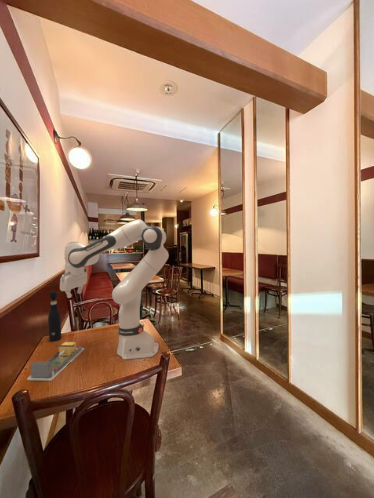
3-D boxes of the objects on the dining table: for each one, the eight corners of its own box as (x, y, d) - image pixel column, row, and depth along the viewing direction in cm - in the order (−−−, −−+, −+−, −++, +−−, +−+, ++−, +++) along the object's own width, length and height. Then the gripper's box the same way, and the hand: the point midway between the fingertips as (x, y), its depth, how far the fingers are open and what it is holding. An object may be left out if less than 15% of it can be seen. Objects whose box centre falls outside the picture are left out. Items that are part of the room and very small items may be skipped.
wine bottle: (59, 336, 135) (57, 290, 134) (62, 338, 131) (60, 291, 130) (47, 339, 130) (45, 292, 129) (51, 342, 126) (49, 293, 125)
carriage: (80, 350, 113) (79, 341, 113) (69, 360, 104) (69, 349, 104) (61, 350, 114) (61, 341, 114) (49, 359, 105) (49, 349, 105)
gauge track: (84, 349, 117) (83, 337, 117) (51, 380, 91) (50, 365, 91) (65, 349, 118) (64, 337, 117) (27, 380, 92) (26, 364, 91)
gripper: (67, 273, 107) (68, 300, 107) (88, 268, 127) (89, 291, 128) (55, 273, 107) (56, 300, 107) (78, 268, 127) (79, 291, 128)
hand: (74, 295), depth 118 cm, fingers open, 8 cm apart
